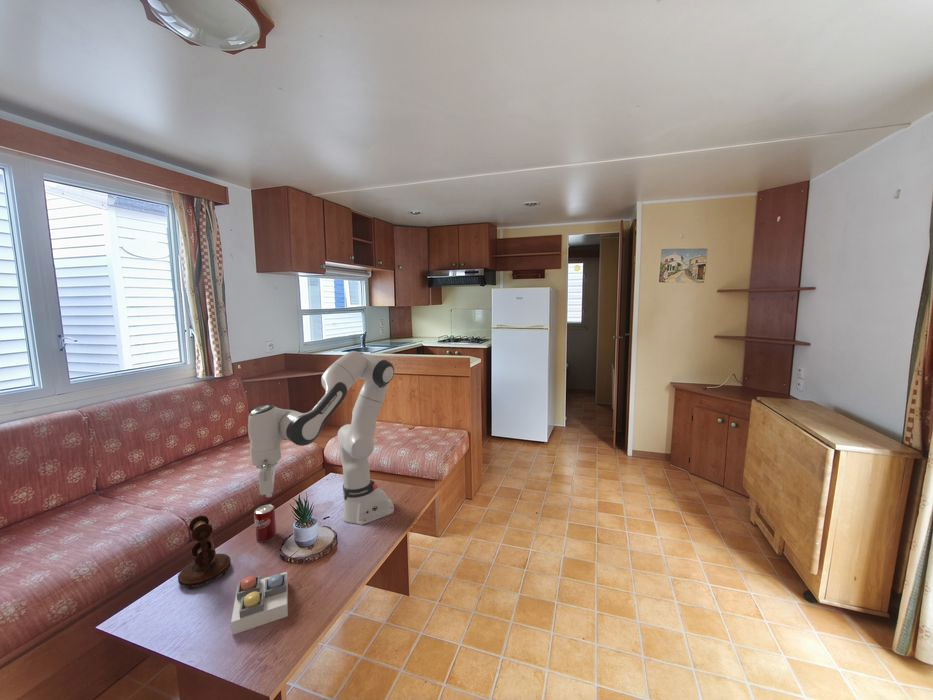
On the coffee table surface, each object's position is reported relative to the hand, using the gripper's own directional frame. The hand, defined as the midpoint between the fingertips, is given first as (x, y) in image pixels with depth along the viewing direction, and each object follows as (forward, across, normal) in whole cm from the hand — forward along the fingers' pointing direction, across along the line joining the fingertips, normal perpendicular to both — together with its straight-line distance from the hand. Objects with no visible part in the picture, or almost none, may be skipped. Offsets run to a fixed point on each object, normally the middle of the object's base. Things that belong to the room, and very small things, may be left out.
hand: (269, 495), depth 123 cm
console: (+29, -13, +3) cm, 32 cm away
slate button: (+25, -12, -1) cm, 28 cm away
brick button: (+25, -9, +7) cm, 27 cm away
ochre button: (+25, -17, +5) cm, 31 cm away
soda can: (+29, +26, +4) cm, 39 cm away
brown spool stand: (+29, +12, +22) cm, 39 cm away
